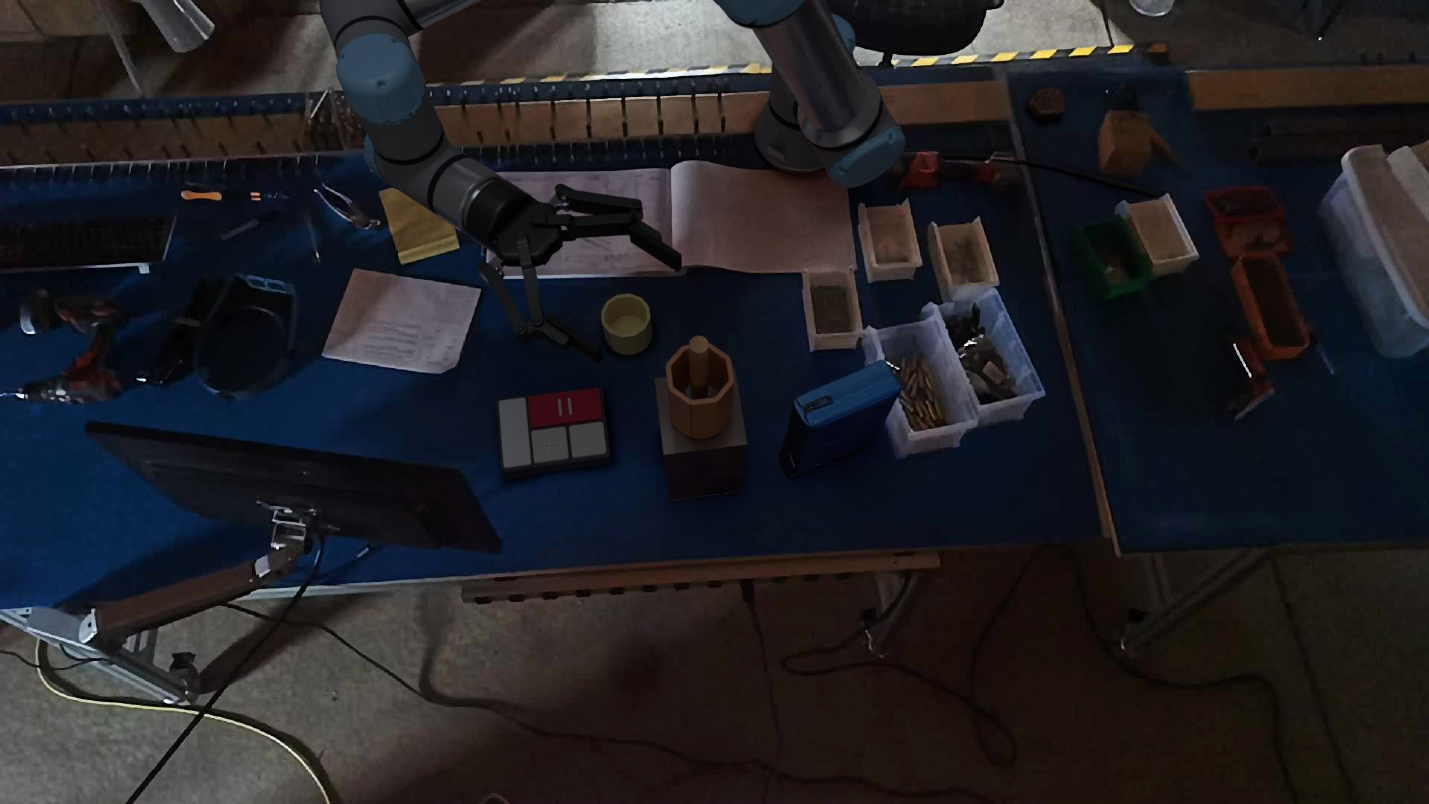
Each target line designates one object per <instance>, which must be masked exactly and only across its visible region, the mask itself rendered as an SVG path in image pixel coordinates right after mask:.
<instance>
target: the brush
mask: <svg viewBox="0 0 1429 804" xmlns="http://www.w3.org/2000/svg"><path fill="white" fill-rule="evenodd" d="M709 343H710V342H709V340H708V339H707V338H706V337H705V336H702V335H695V336H693V337H692V338H691V339H690V340H689V342H688V345H689V361H690V385H689V386H688V387H687V390H686V396H687V397H688V398H690V399H691V400H697V399H706V398H712V395H713V392H712V388H711V386H710V385H709V384H708V367H709Z"/></svg>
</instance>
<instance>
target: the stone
mask: <svg viewBox="0 0 1429 804" xmlns="http://www.w3.org/2000/svg"><path fill="white" fill-rule="evenodd" d="M1026 106H1027V109H1028V110H1029V112H1030V113H1031V114H1033V115H1034V117H1035V119H1036V120H1038V121H1041V122H1045V121H1049V122H1050V121H1053V120H1055V119H1057V118H1059V117H1061V116H1062V115H1064V114H1065V113H1066V112H1067V106H1066V96H1065V95H1064V92H1063V90H1062V89H1059V88H1056V87H1054V86H1050V87H1044V88H1042V87H1040V88H1039V89H1038V90H1037V91H1035V92H1033V94H1032V95H1031V96H1030V97H1029V100H1028V101H1027V104H1026Z"/></svg>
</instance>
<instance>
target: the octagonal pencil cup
mask: <svg viewBox="0 0 1429 804" xmlns="http://www.w3.org/2000/svg"><path fill="white" fill-rule="evenodd" d="M708 343H709V367H708V384H709V385H710V386H711V388H712V392H713V395H712V398H706V399H697V400H691V399H690V398H688V397H687V396H686V390H687V387H688V386H689V385H690V361H689V344H685V345H684V344H683V345H682V346H680V348H679V349H678V350H677V351H676V352H675V353H674V354H673V355H672V357H671V358H670V359H669V360H668V361H667V363H666V364H665V366H664V367H665V377H666V378H667V388H668V399H669V407H670V415H671V423H672V424H673V425H674V426H675V427H676V428H677V429H678V430H679V431H680V432H681V433H683V434H684V435H686V436H688V437H692V438H697V439H703V438H709V437H712V436H714V435H716V434H718V433H719V432H720V431H721V430H722V429H723V428H724V427H725V426H726V424H727V422H728V421H729V419H730V418H731V416H732V405H733V393H734V381H735V380H734V374H733V369H734V368H733V362H732V358H731V356H729V355H728V354H727V353H725V352H723V351H722V350H721V349H719V348H718V347H716V346H715V345H714V344H712V343H710V342H708Z"/></svg>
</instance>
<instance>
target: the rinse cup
mask: <svg viewBox="0 0 1429 804" xmlns="http://www.w3.org/2000/svg"><path fill="white" fill-rule="evenodd" d="M600 317H601V325H602V329H603V330H602V331H603V334H604V338H605V341H606V343H607V344H608V346H609V347H610V348H611V350H613V351H614V352H615V353H617V354H620V355H624V356H632V355H637V354H639V353H641V352H643V351H645V349H647V348H648V347H649V345H650V343H651V342H652V339H653V328H652V318H651V312H650V306H649V305H648V303H647V302H646V301H645V300H644V299H643V298H642V297H641V296H638V295H635V294H633V293H621V294H616V295H615V296H613V297H612V298H610V299H608V300H607V301H606V302H605V304H604V305H603V308H602V309H601V312H600Z"/></svg>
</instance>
